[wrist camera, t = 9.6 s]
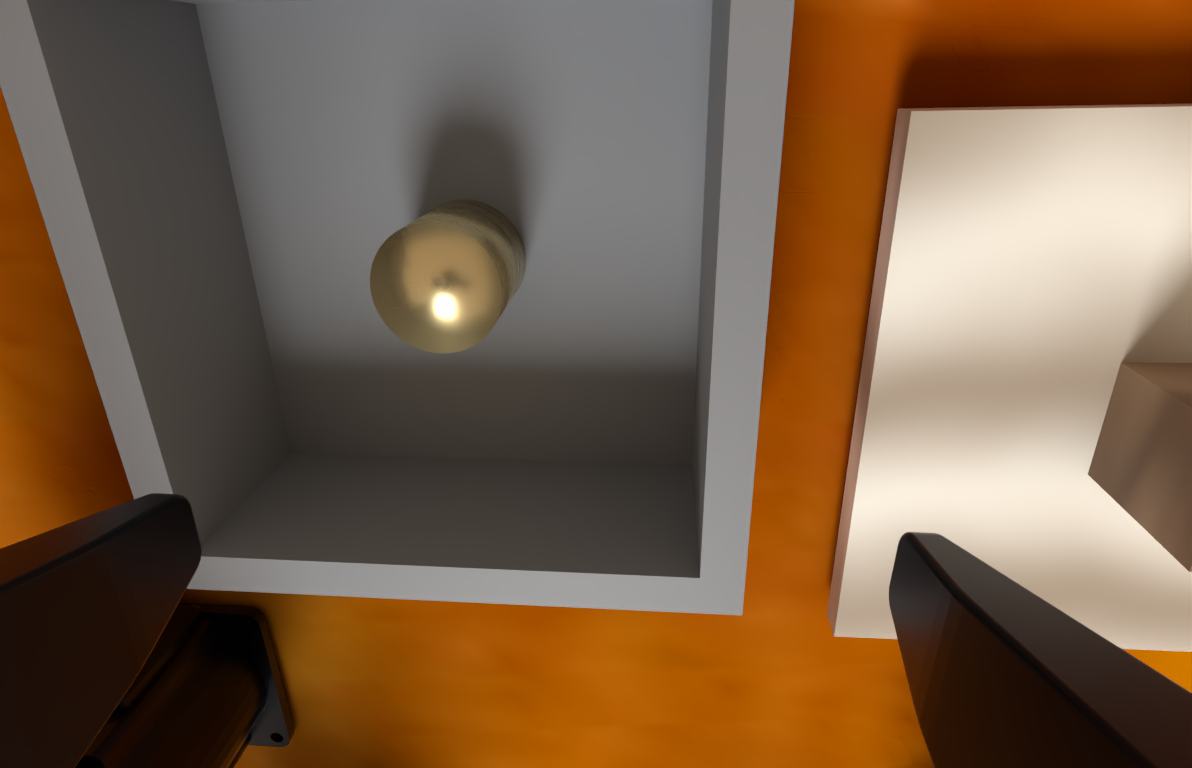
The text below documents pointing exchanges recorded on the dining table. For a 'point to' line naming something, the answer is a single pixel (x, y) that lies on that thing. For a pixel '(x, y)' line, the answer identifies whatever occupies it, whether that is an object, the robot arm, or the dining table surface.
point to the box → (344, 302)
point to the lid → (1031, 365)
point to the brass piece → (448, 276)
